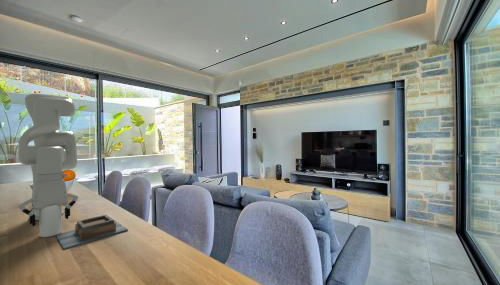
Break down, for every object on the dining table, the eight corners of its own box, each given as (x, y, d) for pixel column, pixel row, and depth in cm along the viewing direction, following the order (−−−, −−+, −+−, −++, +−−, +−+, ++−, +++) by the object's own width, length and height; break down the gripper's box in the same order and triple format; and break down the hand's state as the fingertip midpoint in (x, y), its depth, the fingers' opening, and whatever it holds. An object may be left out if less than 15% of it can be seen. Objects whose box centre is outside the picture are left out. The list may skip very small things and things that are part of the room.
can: (48, 238, 83) (47, 206, 82) (35, 237, 84) (34, 205, 84) (66, 231, 89) (65, 201, 89) (53, 230, 90) (52, 201, 90)
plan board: (56, 236, 84) (55, 223, 84) (114, 221, 99) (114, 210, 99) (63, 249, 74) (63, 235, 74) (127, 230, 89) (127, 218, 89)
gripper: (75, 174, 95) (76, 214, 95) (17, 180, 82) (18, 226, 82) (79, 176, 90) (80, 217, 90) (18, 182, 77) (19, 231, 77)
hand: (50, 221), depth 86 cm, fingers open, 9 cm apart
